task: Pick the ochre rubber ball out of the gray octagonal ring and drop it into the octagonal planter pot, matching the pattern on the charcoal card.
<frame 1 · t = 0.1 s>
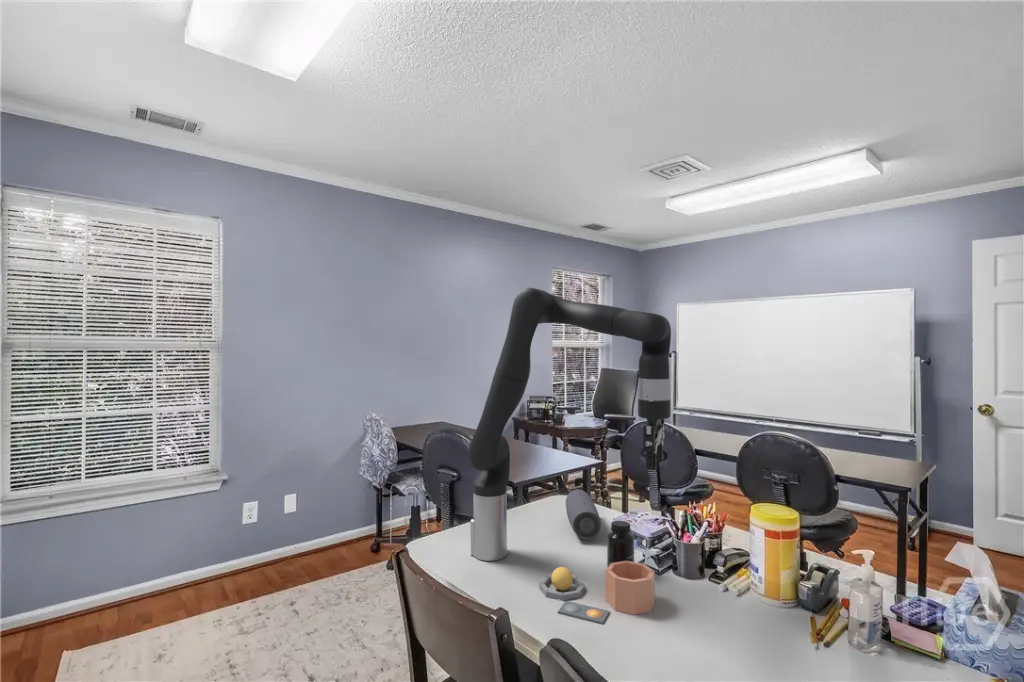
hand: (654, 465, 120), 29 cm above the table, tool pointing down, fingers open, 8 cm apart
supplement bottle: (620, 571, 130), on the table
ball: (562, 578, 120), point 2 cm above the table
gray octagonal ring: (562, 589, 120), on the table
octagonal planter pot: (630, 602, 114), on the table
target card: (583, 612, 109), on the table
bluetooth speaker: (582, 530, 158), on the table
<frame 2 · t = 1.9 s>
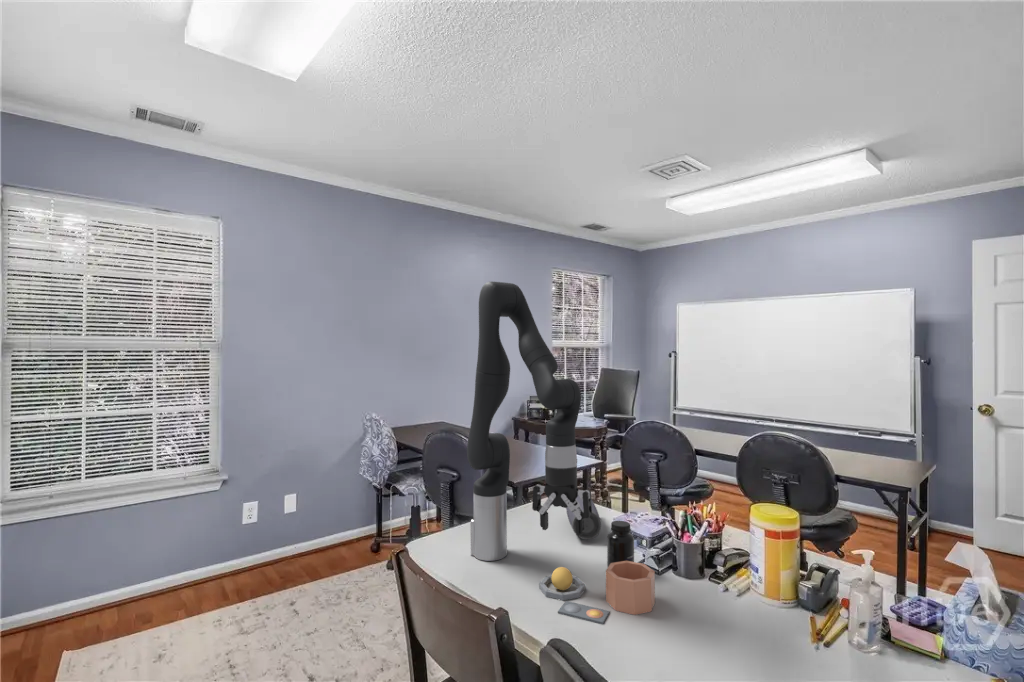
hand: (562, 531, 120), 14 cm above the table, tool pointing down, fingers open, 8 cm apart
nothing on the table moved.
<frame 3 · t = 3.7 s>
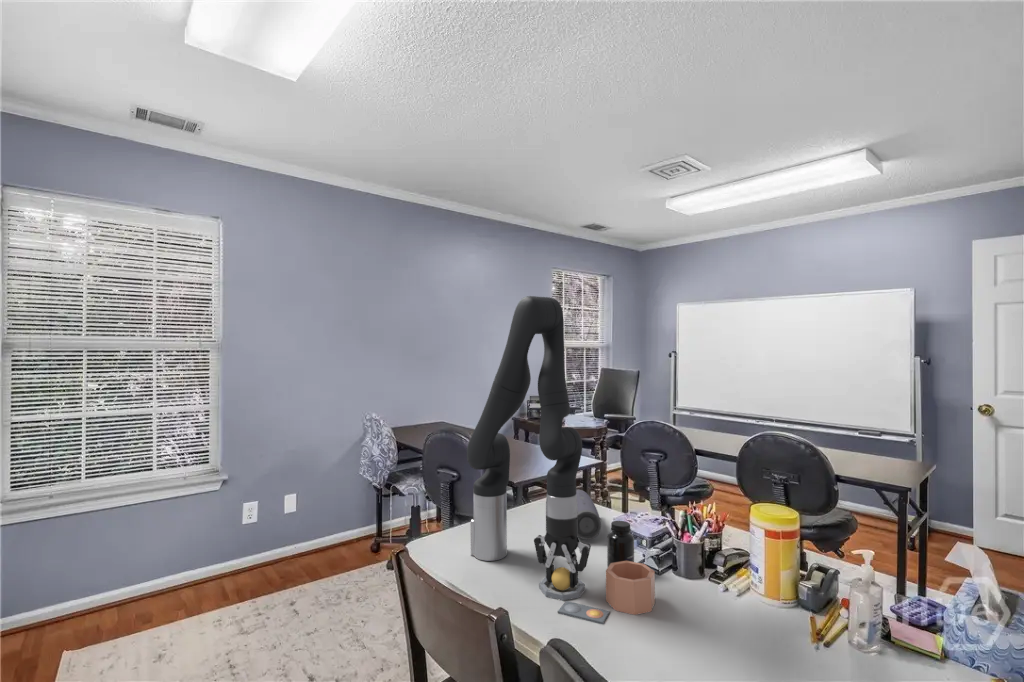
hand: (562, 584, 120), 1 cm above the table, tool pointing down, fingers closed on ball, 5 cm apart
ball: (562, 578, 120), point 2 cm above the table, touching gripper
everything else where it was.
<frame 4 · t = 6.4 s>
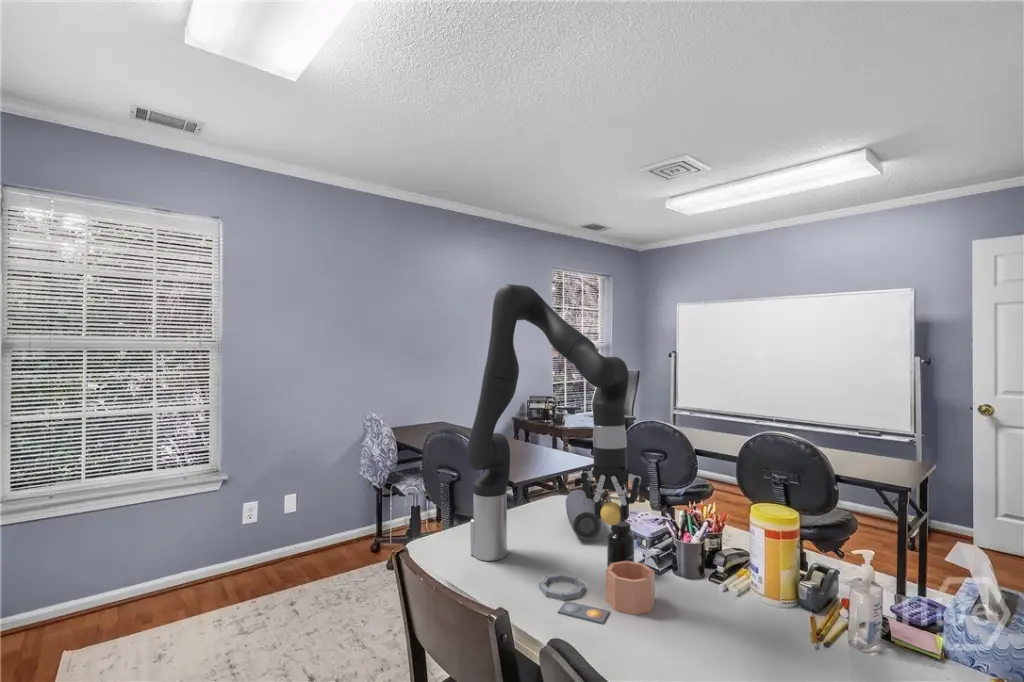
hand: (611, 519, 115), 18 cm above the table, tool pointing down, fingers closed on ball, 5 cm apart
ball: (611, 513, 115), point 20 cm above the table, touching gripper
everything else where it was.
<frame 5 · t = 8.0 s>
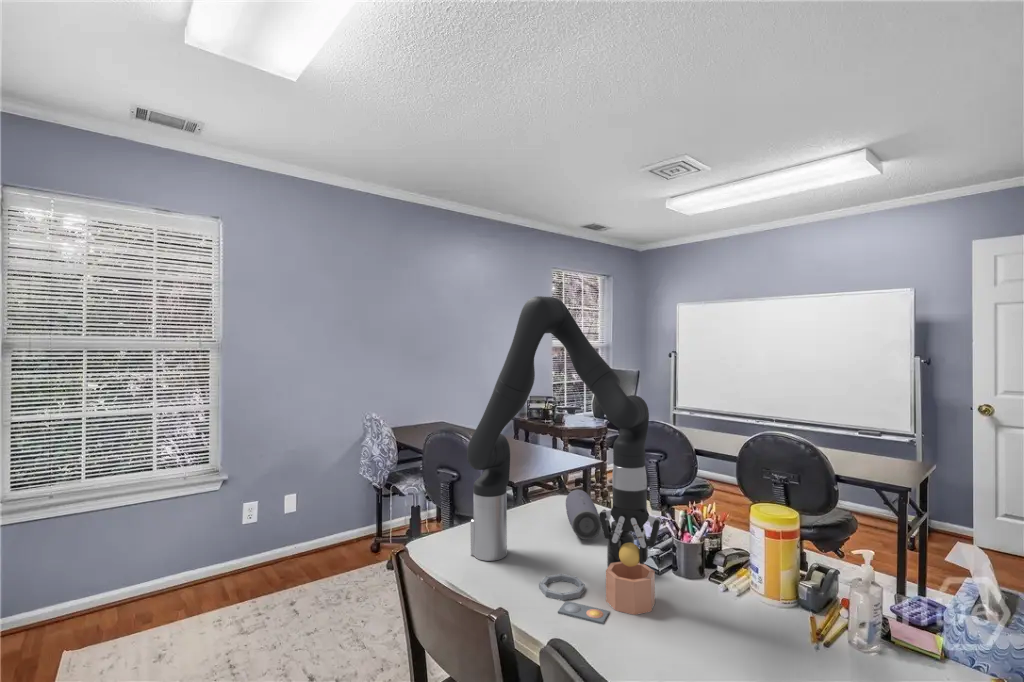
hand: (630, 560, 114), 9 cm above the table, tool pointing down, fingers closed on ball, 5 cm apart
ball: (629, 554, 114), point 11 cm above the table, touching gripper
everything else where it was.
when the fingers open (9 cm above the table, at t = 8.9 s): ball drops 8 cm, point 2 cm above the table.
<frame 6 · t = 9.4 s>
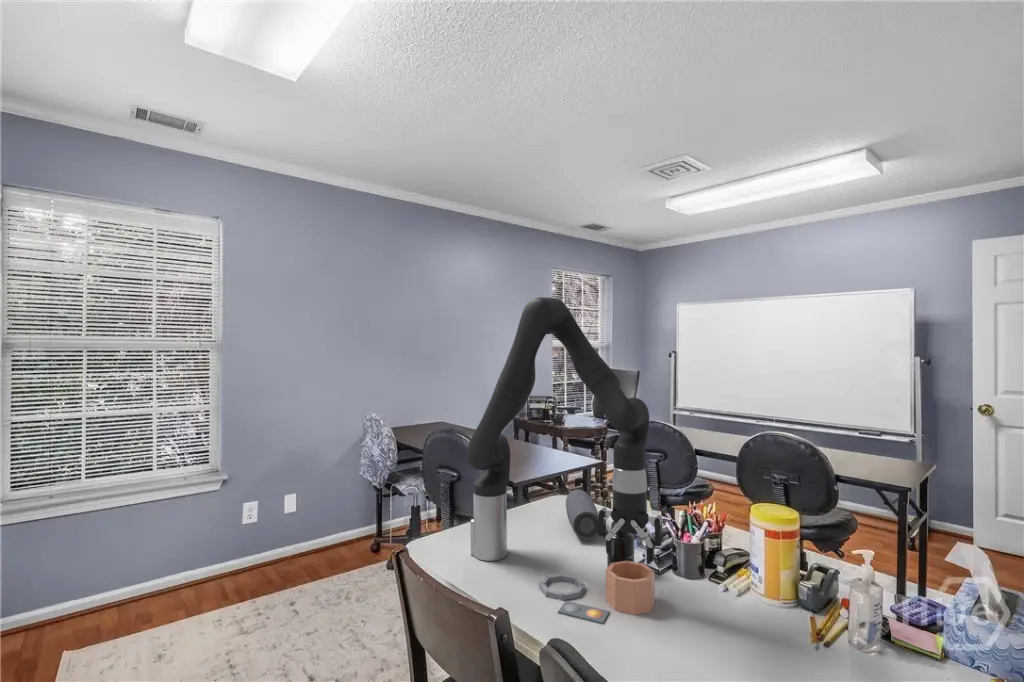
hand: (630, 559, 114), 10 cm above the table, tool pointing down, fingers open, 8 cm apart
ball: (630, 591, 114), point 2 cm above the table
everything else where it was.
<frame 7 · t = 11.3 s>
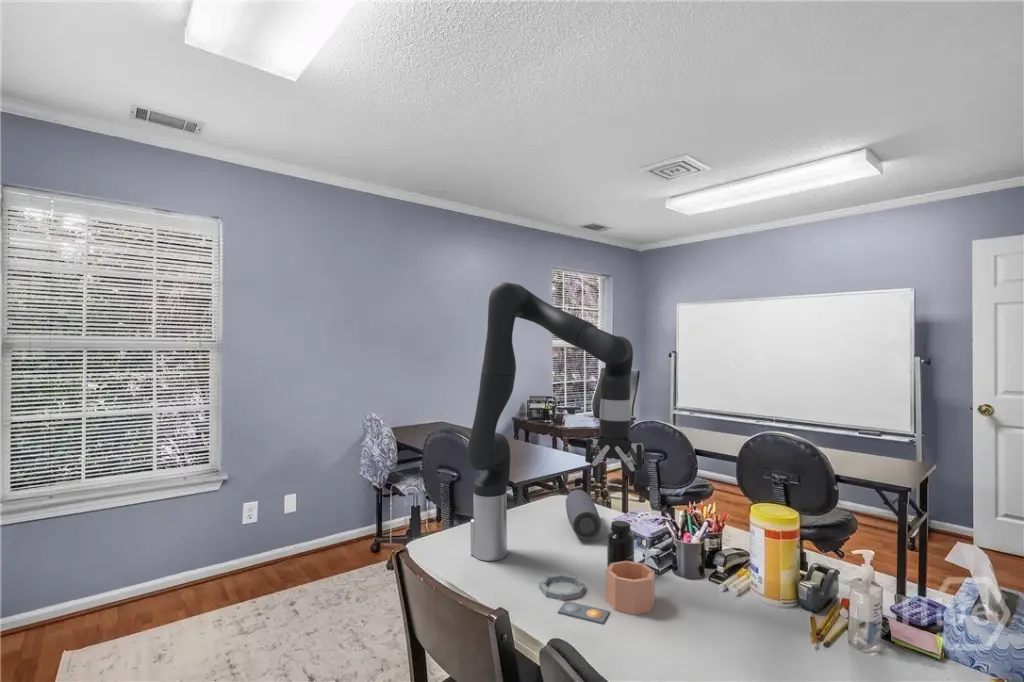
hand: (614, 483, 124), 24 cm above the table, tool pointing down, fingers open, 8 cm apart
nothing on the table moved.
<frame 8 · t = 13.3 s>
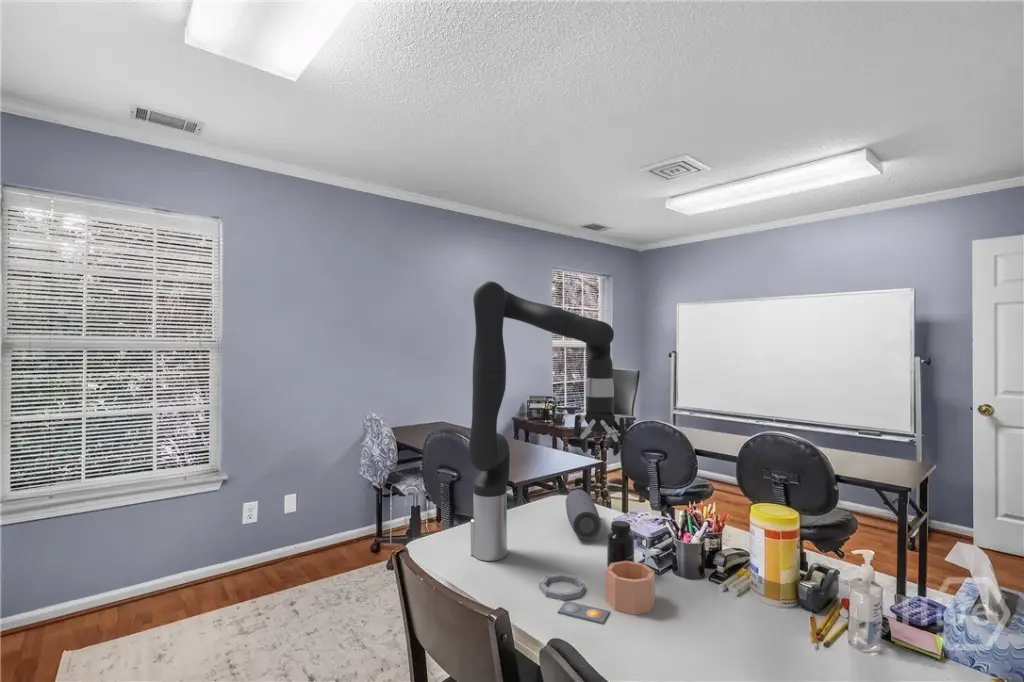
hand: (600, 453, 139), 28 cm above the table, tool pointing down, fingers open, 8 cm apart
nothing on the table moved.
at the end: ball 0.1 cm off-centre on the octagonal planter pot, point 2.5 cm above the octagonal planter pot's base; the gripper is holding nothing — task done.
